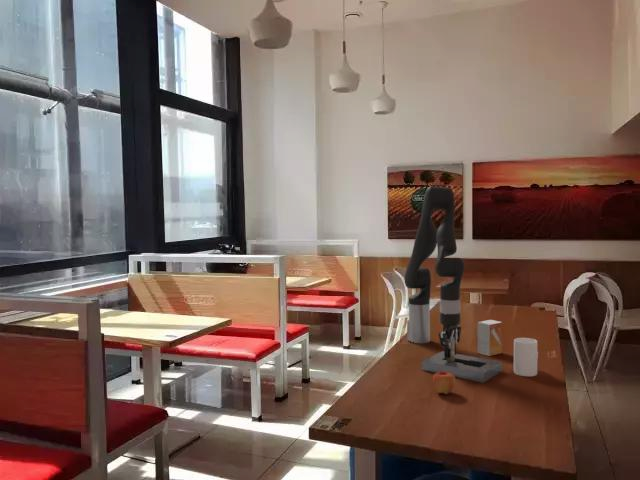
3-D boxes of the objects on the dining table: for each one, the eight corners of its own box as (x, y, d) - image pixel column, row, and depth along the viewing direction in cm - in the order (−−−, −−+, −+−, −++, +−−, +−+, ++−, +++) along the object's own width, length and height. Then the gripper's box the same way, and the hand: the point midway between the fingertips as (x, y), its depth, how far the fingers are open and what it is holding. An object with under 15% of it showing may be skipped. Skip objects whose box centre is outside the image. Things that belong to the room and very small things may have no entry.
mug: (538, 367, 199) (538, 336, 198) (537, 377, 188) (538, 344, 187) (514, 365, 202) (514, 334, 201) (513, 375, 191) (513, 342, 190)
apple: (451, 398, 170) (451, 374, 169) (429, 394, 174) (429, 370, 173) (458, 391, 176) (458, 367, 175) (437, 387, 180) (437, 364, 179)
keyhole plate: (422, 369, 199) (421, 360, 199) (442, 359, 211) (442, 351, 211) (483, 382, 184) (483, 372, 183) (501, 371, 196) (501, 361, 196)
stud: (441, 368, 200) (441, 337, 200) (447, 365, 204) (447, 334, 203) (453, 371, 197) (453, 339, 196) (459, 367, 201) (459, 336, 200)
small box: (489, 356, 215) (489, 324, 214) (477, 353, 220) (477, 321, 219) (502, 353, 219) (502, 321, 218) (490, 349, 224) (490, 319, 223)
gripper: (449, 306, 207) (450, 350, 208) (431, 313, 196) (432, 358, 197) (467, 309, 202) (468, 353, 203) (450, 315, 191) (450, 362, 192)
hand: (450, 355), depth 200 cm, fingers open, 4 cm apart
